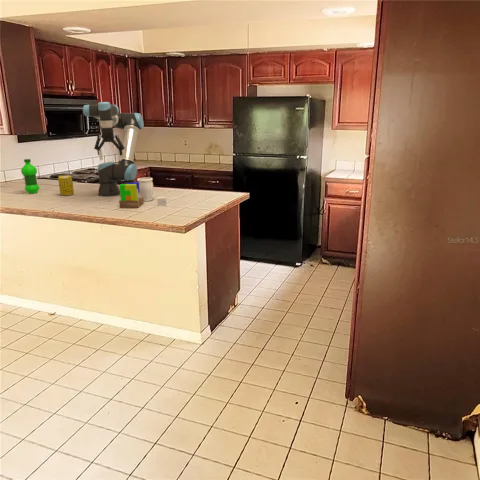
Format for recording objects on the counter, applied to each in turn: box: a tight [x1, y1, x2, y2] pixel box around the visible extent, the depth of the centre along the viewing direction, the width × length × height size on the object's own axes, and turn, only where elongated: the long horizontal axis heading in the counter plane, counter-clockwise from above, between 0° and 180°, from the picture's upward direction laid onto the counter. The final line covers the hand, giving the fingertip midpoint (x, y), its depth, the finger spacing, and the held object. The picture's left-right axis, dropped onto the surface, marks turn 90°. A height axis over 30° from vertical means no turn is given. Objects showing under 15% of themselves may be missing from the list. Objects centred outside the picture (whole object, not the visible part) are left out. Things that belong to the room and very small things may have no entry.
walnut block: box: [118, 197, 144, 209], centre depth 276 cm, size 12×12×5 cm
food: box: [57, 174, 75, 196], centre depth 308 cm, size 15×12×10 cm
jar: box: [136, 176, 154, 202], centre depth 290 cm, size 11×10×15 cm
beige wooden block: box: [156, 196, 167, 207], centre depth 278 cm, size 5×5×5 cm
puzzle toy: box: [118, 181, 140, 201], centre depth 273 cm, size 10×10×10 cm
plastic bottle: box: [20, 158, 40, 195], centre depth 314 cm, size 10×10×25 cm
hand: (110, 160), depth 280 cm, fingers open, 13 cm apart
